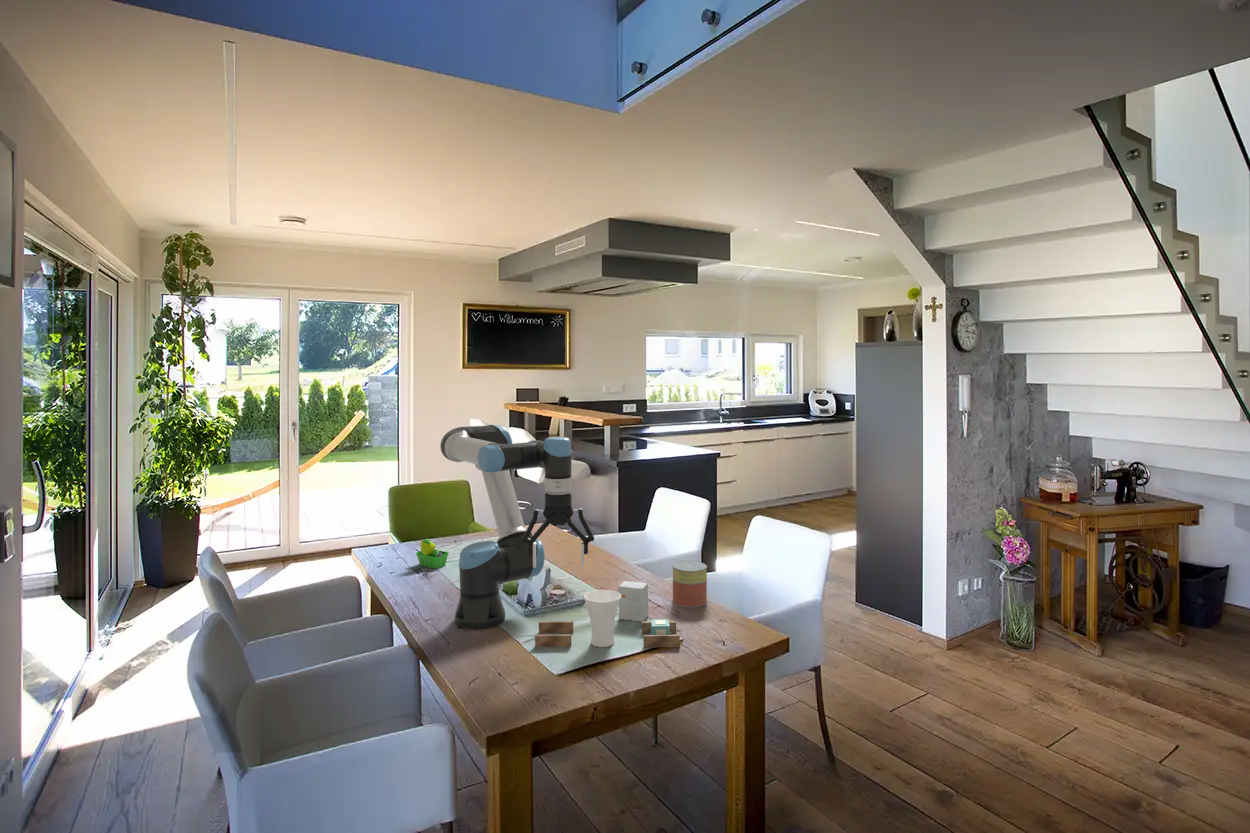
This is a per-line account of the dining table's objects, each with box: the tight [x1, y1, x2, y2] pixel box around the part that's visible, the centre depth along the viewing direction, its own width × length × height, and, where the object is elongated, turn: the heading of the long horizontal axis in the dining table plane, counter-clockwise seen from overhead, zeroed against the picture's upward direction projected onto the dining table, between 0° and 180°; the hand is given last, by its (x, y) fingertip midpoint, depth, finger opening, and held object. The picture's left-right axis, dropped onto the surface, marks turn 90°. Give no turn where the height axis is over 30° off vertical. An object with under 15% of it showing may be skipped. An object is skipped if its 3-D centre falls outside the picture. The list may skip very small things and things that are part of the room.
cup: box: [583, 589, 621, 648], centre depth 190 cm, size 10×10×14 cm
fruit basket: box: [415, 538, 450, 570], centre depth 264 cm, size 11×9×11 cm
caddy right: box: [641, 620, 681, 648], centre depth 192 cm, size 10×11×3 cm
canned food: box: [672, 560, 708, 608], centre depth 223 cm, size 11×11×12 cm
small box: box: [617, 580, 649, 623], centre depth 209 cm, size 8×6×10 cm
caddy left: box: [534, 620, 574, 648], centre depth 193 cm, size 10×11×3 cm
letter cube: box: [650, 618, 671, 635], centre depth 192 cm, size 5×5×5 cm
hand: (558, 566), depth 193 cm, fingers open, 13 cm apart
